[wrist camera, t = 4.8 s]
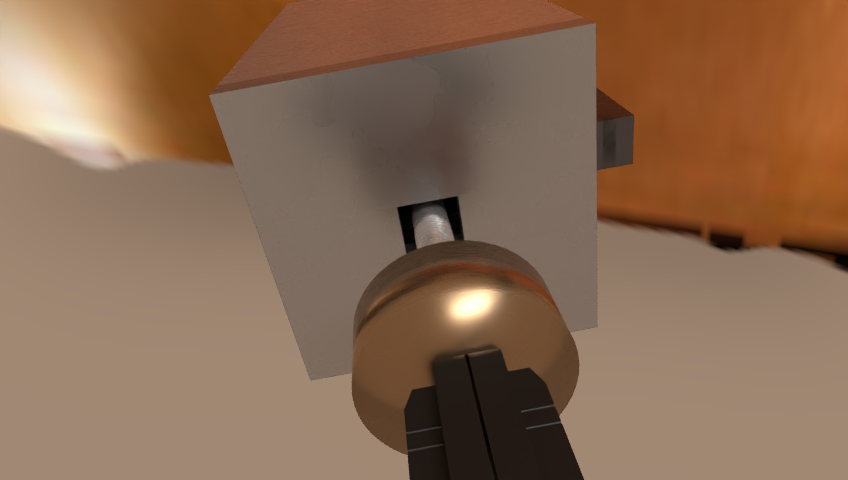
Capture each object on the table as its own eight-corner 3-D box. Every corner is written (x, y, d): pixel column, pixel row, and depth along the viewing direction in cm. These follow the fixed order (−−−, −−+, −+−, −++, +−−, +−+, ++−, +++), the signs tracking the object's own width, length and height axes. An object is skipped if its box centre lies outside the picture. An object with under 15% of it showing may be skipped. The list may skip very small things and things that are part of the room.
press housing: (525, -42, 33) (697, 4, 16) (536, 138, 38) (672, 313, 21) (288, 3, 33) (208, 95, 16) (333, 175, 38) (310, 380, 21)
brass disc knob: (475, 12, 28) (666, 175, 10) (491, 168, 32) (647, 473, 15) (306, 43, 28) (211, 260, 10) (345, 195, 32) (325, 533, 14)
